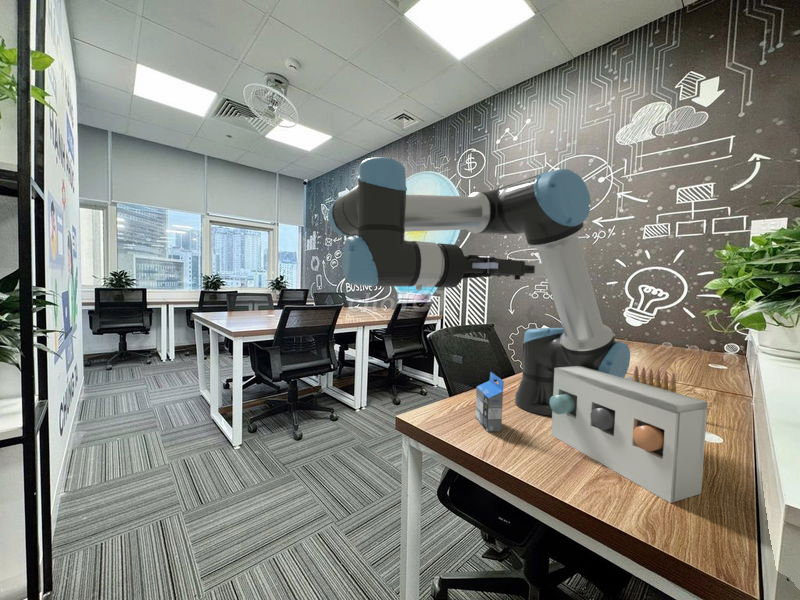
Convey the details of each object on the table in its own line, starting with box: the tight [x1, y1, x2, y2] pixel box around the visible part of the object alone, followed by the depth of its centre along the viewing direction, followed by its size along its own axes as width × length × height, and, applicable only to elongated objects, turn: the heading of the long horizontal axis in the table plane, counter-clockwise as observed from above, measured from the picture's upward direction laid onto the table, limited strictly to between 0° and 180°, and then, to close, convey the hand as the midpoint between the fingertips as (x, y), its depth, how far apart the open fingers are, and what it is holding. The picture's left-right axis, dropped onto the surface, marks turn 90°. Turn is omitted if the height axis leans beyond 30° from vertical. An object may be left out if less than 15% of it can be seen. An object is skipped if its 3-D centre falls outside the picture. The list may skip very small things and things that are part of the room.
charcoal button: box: [590, 407, 615, 430], centre depth 64 cm, size 4×3×4 cm
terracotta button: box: [633, 424, 665, 451], centre depth 56 cm, size 4×3×4 cm
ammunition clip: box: [632, 365, 677, 393], centre depth 94 cm, size 11×2×12 cm, turn 36°
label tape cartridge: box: [474, 371, 505, 433], centre depth 81 cm, size 9×4×12 cm, turn 6°
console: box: [550, 366, 708, 504], centre depth 65 cm, size 25×8×16 cm, turn 20°
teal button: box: [550, 394, 575, 414], centre depth 72 cm, size 4×3×4 cm
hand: (541, 270), depth 64 cm, fingers closed
